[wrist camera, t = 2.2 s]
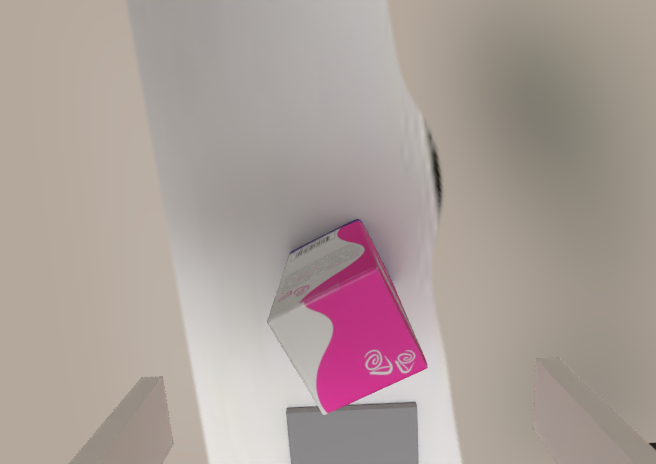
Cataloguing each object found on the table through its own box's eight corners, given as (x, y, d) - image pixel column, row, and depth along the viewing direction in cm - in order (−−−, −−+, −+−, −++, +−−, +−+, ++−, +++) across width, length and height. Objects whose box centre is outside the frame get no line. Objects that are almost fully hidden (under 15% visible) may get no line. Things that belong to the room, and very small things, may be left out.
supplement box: (325, 320, 31) (319, 421, 20) (288, 252, 30) (258, 316, 19) (396, 287, 30) (431, 371, 19) (360, 215, 29) (375, 260, 18)
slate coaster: (287, 408, 32) (286, 413, 32) (415, 402, 32) (417, 407, 31) (297, 515, 34) (296, 521, 34) (418, 510, 34) (419, 517, 33)
